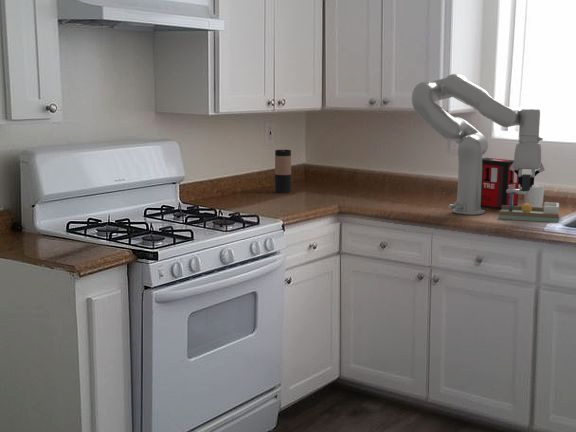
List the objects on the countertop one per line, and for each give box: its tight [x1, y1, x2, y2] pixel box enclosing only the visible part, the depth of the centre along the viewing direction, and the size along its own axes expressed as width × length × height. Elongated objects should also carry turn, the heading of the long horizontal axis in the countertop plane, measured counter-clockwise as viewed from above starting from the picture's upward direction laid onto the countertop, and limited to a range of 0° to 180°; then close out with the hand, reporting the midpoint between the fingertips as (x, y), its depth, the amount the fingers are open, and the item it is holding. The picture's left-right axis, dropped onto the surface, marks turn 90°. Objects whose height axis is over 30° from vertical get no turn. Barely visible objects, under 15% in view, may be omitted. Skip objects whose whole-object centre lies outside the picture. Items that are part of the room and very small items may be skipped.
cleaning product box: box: [481, 157, 520, 210], centre depth 338 cm, size 16×9×20 cm, turn 43°
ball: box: [521, 202, 532, 213], centre depth 313 cm, size 4×4×4 cm
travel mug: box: [274, 149, 292, 194], centre depth 377 cm, size 8×8×20 cm
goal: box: [543, 201, 560, 215], centre depth 311 cm, size 6×11×4 cm, turn 161°
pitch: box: [498, 205, 560, 223], centre depth 313 cm, size 22×16×3 cm
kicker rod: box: [506, 173, 532, 212], centre depth 314 cm, size 9×6×15 cm
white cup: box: [524, 184, 545, 207], centre depth 331 cm, size 8×8×10 cm
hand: (526, 186), depth 312 cm, fingers closed on kicker rod, 3 cm apart
